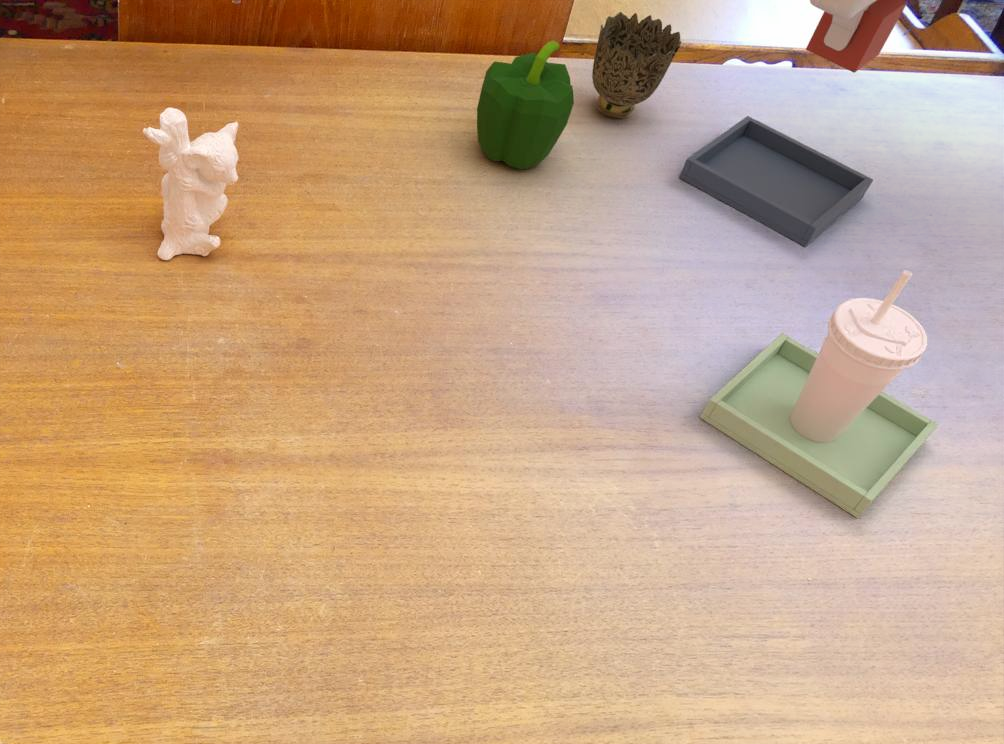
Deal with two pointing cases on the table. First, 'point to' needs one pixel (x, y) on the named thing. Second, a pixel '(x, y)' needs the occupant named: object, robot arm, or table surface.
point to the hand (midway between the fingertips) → (852, 33)
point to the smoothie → (857, 363)
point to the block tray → (775, 180)
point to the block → (859, 35)
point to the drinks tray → (821, 466)
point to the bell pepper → (524, 108)
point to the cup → (631, 62)
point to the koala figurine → (192, 182)
